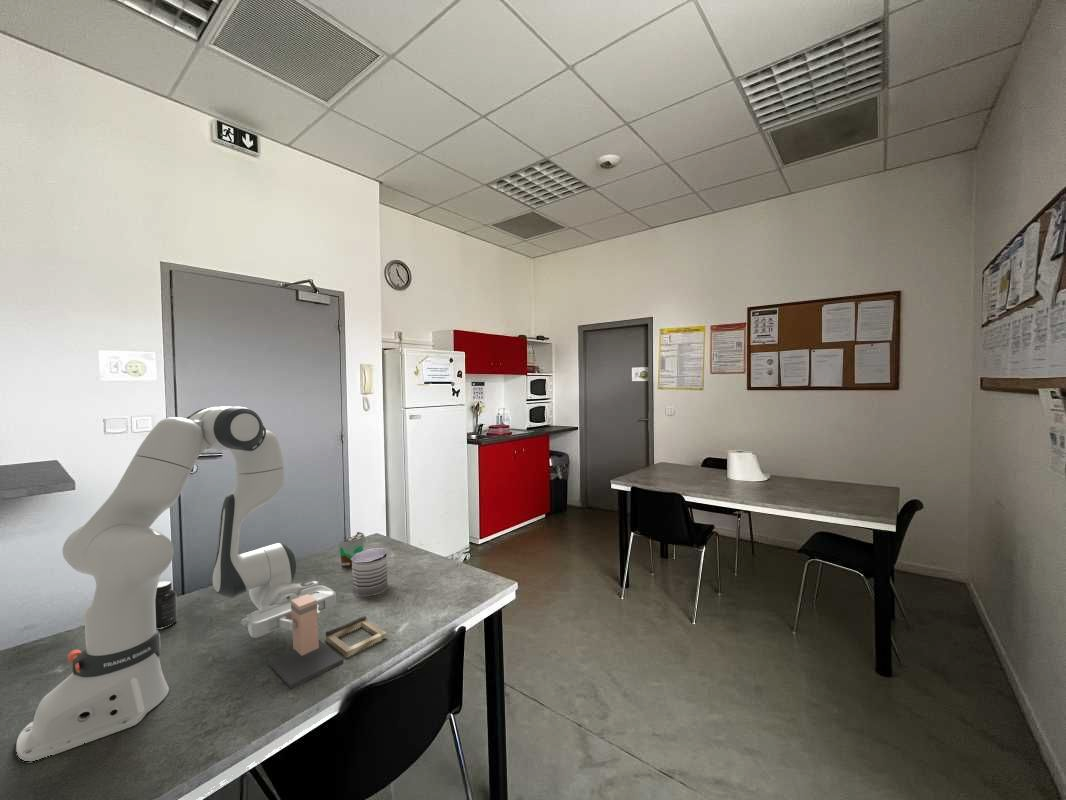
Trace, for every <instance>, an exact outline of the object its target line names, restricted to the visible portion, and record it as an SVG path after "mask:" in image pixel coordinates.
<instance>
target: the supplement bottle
mask: <svg viewBox="0 0 1066 800" xmlns="http://www.w3.org/2000/svg"><path fill="white" fill-rule="evenodd" d="M177 599H178V598H177V592H176V591H175V590H174V589H173V585H172V581H171V580H162V581H159V582H158V586H157V591H156V598H155V609H156V628H161V627H165V626H168V625H170V624H172V623H174V622H175V621H176V622H177V621H178V602H177V601H178V600H177Z"/></svg>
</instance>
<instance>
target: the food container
mask: <svg viewBox="0 0 1066 800" xmlns="http://www.w3.org/2000/svg"><path fill="white" fill-rule="evenodd" d="M338 542H339V543H338V549H339V552H340V562H341V568H350V567H349V566H351V567H352V560H351V558H352V557H353V556H354V555H355V554H357V553H359V552H362V551H364V544H365V542H366V536H365V534H364V533H363V532H362V531H361V532H360V531H357V532H356V534H355V535H353V536H350V537H348V538H346V540H344V541H338Z"/></svg>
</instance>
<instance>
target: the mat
mask: <svg viewBox="0 0 1066 800" xmlns="http://www.w3.org/2000/svg"><path fill="white" fill-rule="evenodd" d="M318 642H319V648H317V649H315V650H313V651H311V652H309V653H307V654H304V655H302V656H301V655H300V654H299V653H298V652H297V651H296V650H295V649H294V648H293V649H291V650H289V651H287V652H284V653H282V654H279V655H278V656H275V657H272V658H270V659H268V660H267V664H268V666H269V667H271V669H273V671H274V672H275V673H276V675H278V676H279V677H280V679H282V681H284V683H285V684H286V685H287V686H288V687H289V688H290V689H292V688H294V687H297V686H298V685H300V684H303V683H304V682H307V681H309V680H310V679H312V678H315V677H317V676H318V674H319V675H320V673H321V674H323V673H324V671H325V672H326V670H327V669H329V668H331V669H332V667H333V668H335V667H337V666H339V665H340V663H341V664H342V662H343V663H344V661H343V660H344V659H343V658H342V657H341V656H340V655H338V654H337V653H336V652H335V651H334V650H332V649H331V648H330V647H329V646H328V645H326V644H325V643H323V641H321V640H320V639H319V638H318ZM338 664H339V665H338ZM336 665H337V666H336ZM334 666H335V667H334ZM329 670H330V669H329ZM327 671H328V670H327ZM322 672H323V673H322ZM314 676H315V677H314Z"/></svg>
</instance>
